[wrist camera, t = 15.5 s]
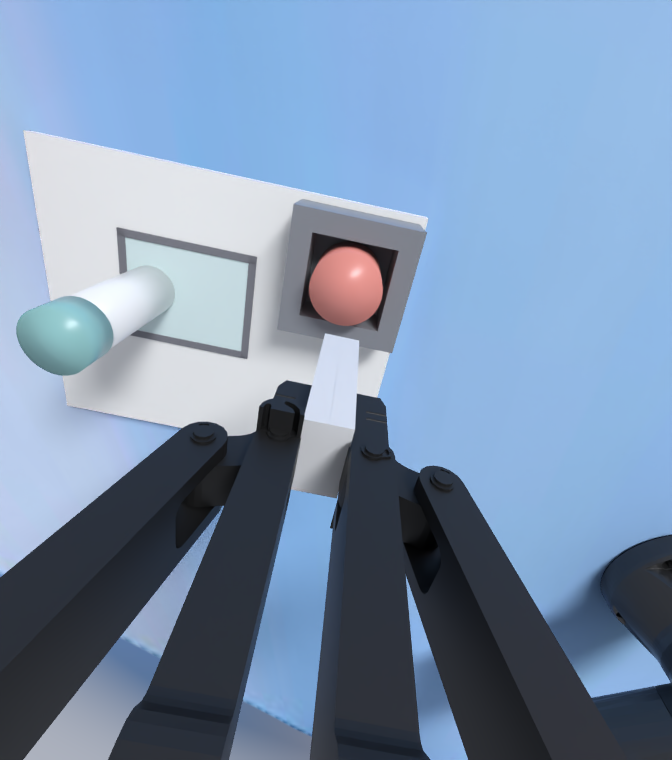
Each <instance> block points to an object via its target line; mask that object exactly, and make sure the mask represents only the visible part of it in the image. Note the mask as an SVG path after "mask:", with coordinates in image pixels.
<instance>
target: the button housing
mask: <svg viewBox="0 0 672 760" xmlns="http://www.w3.org/2000/svg"><path fill="white" fill-rule="evenodd" d="M426 234H427V232H426V231H425V230H424V229H423V228H422V226H421V225H420V224H415V223H411V222H406V221H402V220H397V219H392V218H388V217H383V216H379V215H374V214H369V213H365V212H360V211H356V210H351V209H347V208H342V207H337V206H333V205H328V204H324V203H319V202H314V201H310V200H305V199H301V200H299V201H298V202H296V203H294V204H293V212H292V219H291V227H290V235H289V242H288V250H287V258H286V265H285V273H284V281H283V288H282V296H281V304H280V311H279V319H278V327H277V330H282V331H287V332H291V333H296V334H301V335H306V336H311V337H316V338H320V339H324V336H325V333H326V334H330V335H335V336H340V337H345V338H350V339H354V340H359V347H364V348H369V349H374V350H379V351H384V352H388V353H392V351H393V348H394V344H395V341H396V338H397V334H398V331H399V327H400V324H401V320H402V317H403V313H404V310H405V307H406V303H407V300H408V296H409V293H410V289H411V286H412V282H413V279H414V275H415V272H416V269H417V265H418V262H419V258H420V255H421V251H422V248H423V244H424V241H425V238H426ZM345 241H352V242H357V243H360V244H362V245H364V246H366V247H367V248H369V249H370V250H371V251H372V252H373V253H374V255H375V256H376V258H377V260H378V262H379V265H380V270H381V278H382V286H383V294H382V299H381V302H380V305H379V307H378V308H377V310H376V312H375V313H374V314H373V315H372V316H371V317H370V318H368V319H367V320H366V321H364V322H362V323H359V324H356V325H352V326H341V325H336V324H333V323H331V322H329V321H327V320H325V319H324V318H322V317H321V316H320V315H319V314H318V312H317V311H316V310H315V308H314V307H313V305H312V302H311V299H310V295H309V283H310V279H311V276H312V274H313V272H314V270H315V268H316V266H317V263H318V261H319V259H320V257H321V256H322V254H323V253H324V252H325V251H326V250H327V249H328V248H329V247H331V246H333V245H334V244H337V243H340V242H345Z"/></svg>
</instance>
